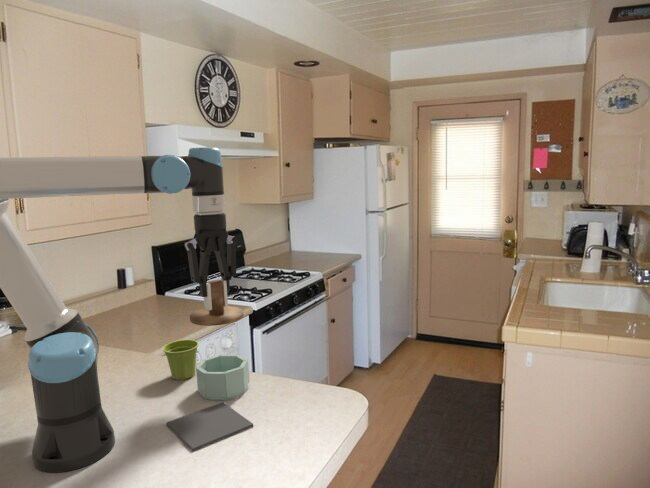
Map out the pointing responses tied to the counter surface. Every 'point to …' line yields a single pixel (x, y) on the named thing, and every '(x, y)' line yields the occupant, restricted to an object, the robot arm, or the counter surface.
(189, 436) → the mat
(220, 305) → the lid
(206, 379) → the bowl
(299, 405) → the counter surface
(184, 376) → the plant pot
